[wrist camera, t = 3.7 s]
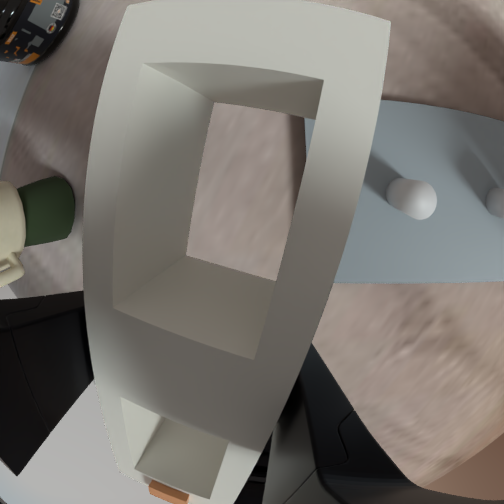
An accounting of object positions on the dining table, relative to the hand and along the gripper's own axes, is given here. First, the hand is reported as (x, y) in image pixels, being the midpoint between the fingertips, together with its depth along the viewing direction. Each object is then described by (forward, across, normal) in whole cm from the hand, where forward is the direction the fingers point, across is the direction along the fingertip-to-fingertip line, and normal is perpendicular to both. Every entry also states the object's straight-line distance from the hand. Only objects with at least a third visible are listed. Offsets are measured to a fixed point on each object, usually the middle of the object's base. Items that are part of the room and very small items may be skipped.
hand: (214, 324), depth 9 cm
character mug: (+12, +21, +2) cm, 24 cm away
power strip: (+1, 0, 0) cm, 1 cm away
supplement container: (+12, +29, -18) cm, 36 cm away
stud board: (+12, -11, -6) cm, 18 cm away
